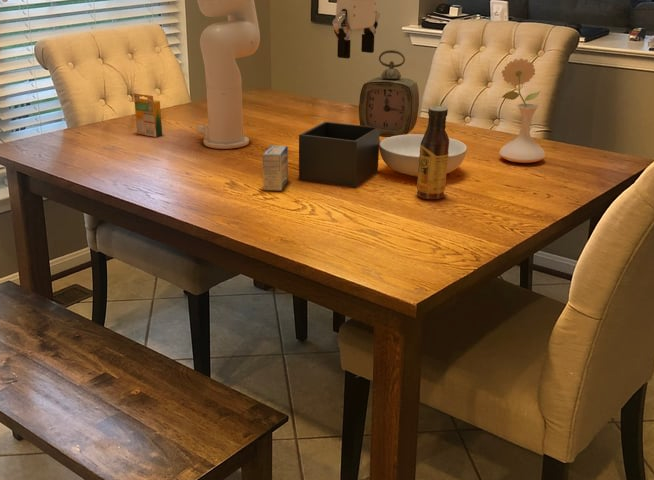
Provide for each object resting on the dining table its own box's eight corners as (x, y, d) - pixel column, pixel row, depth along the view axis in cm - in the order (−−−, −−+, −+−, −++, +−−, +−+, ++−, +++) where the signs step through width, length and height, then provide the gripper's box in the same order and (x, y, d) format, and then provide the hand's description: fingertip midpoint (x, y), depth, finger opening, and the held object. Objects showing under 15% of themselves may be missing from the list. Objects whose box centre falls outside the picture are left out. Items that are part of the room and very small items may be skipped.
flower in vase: (547, 157, 210) (561, 56, 199) (540, 168, 201) (554, 64, 190) (497, 151, 215) (507, 53, 204) (487, 162, 206) (498, 60, 195)
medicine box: (281, 191, 186) (281, 154, 182) (262, 190, 187) (261, 153, 183) (288, 181, 193) (288, 145, 189) (270, 180, 194) (269, 144, 190)
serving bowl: (411, 190, 186) (412, 160, 183) (362, 167, 203) (363, 140, 200) (482, 177, 195) (485, 149, 192) (430, 156, 212) (432, 130, 208)
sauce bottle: (413, 192, 185) (419, 104, 176) (440, 191, 185) (447, 103, 176) (420, 201, 179) (426, 111, 170) (447, 201, 180) (455, 110, 171)
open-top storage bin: (298, 179, 194) (298, 134, 189) (324, 164, 206) (324, 121, 201) (355, 187, 188) (356, 141, 183) (378, 171, 200) (380, 127, 195)
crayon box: (163, 135, 233) (159, 94, 228) (156, 137, 231) (152, 96, 226) (143, 132, 237) (140, 91, 231) (136, 134, 234) (133, 93, 229)
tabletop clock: (357, 147, 220) (360, 51, 209) (367, 139, 228) (370, 46, 216) (409, 152, 215) (415, 54, 204) (417, 144, 223) (424, 49, 211)
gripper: (365, -28, 190) (363, 48, 197) (321, -23, 178) (320, 58, 185) (393, -27, 185) (389, 51, 193) (349, -22, 173) (347, 61, 181)
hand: (355, 55), depth 189 cm, fingers open, 9 cm apart
